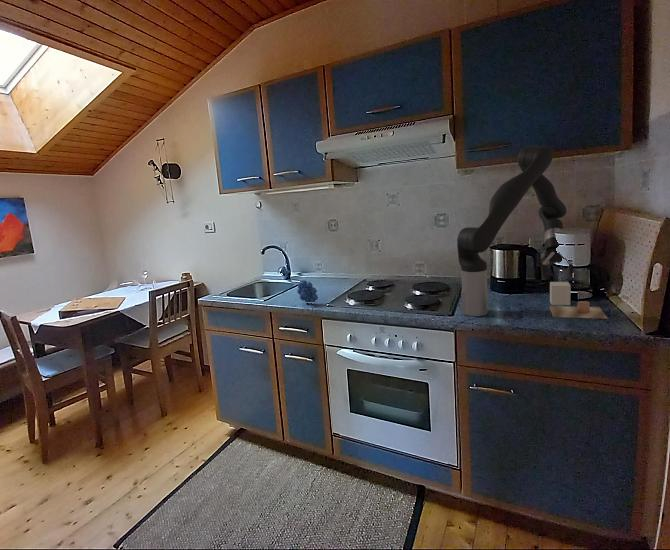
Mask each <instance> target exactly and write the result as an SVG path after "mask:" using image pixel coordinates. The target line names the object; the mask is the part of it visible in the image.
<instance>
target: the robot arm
mask: <svg viewBox="0 0 670 550" xmlns="http://www.w3.org/2000/svg"><path fill="white" fill-rule="evenodd" d="M553 159H554V151H553V148H552V147H550V146H546V145H525V146H523V147H522V148H521V149H520V150H519V152H518V155H517V164H518V167H519V168H520V170H521V172H520V173H519V174H517V175H515V176H513V177H511V178H510V179H508V180H507V181H505V182H503V183H502V184H501V185H500V186H499V187H498V189H497V190H496V191H495V193H494V194H493V195H492V196H491V199H490V201H489V210H488V211H489V212H488V215H487V217H486V218H485V220H484V221H483V222H482V223H481V225H480V226H479V227H474V226H473V227H472V226H471V227H464V228H462V229H460V231H459V233H458V235H457V239H456V244H457V247H456V249H457V256H458V263H459V265H460V270H461V271H460V272H461V273H460V274H461V275H460V276H461V293H460V296H461V314H462V315H463V316H469V317H483V316H486V315H488V314H489V311H488V310H489V307H488V300H489V299H488V297H489V296H488V264H487V262H486V261H485V260H484V259H482V258H481V256H480V255H479V254H480V253H481V254H482V253H484V252H486V251H487V250H488V249H489V248H490V246H491V245H492V244H493V241H494V240H495V239H496V237H497V234H498V233H499V232H500V230H501V228H502V226H503V225H504V224H505V222H506V220H507V219H508V218H509V216H511V213H513V211H514V210H515V209H516V208H517V207H518V205H519V203H520V202H521V201H522V199H523V197H524V196H525V195H526V194H527V192H528V191H529V190H530V188H533V190H534V193H535V195H536V198H537V201H538V203H539V205H541V206H540V207H539V209H538V216H539V218H540V220H541V222H542V225H543V227H544V228H543V229H544V230H543V231H544V238H543V239H544V240H543V241H544V249H545V252H541V251H537V253H536V267H538V268H539V267H540V268H541V271H542V272H541V273H542V274H543V275H544V276H547V274H548V272H547V266H548V265H550V263H552V264H555V263H558V264H560V262H561V261H562V258H563V259H565V260H566V261H567V259H566V258H564V257H563V256H562V255H561V254H560V252H559V253H557V251H556V248H557V247H558V246H559V244H558V242H557V240H556V238H555V235H554V233H555V231H557V230H560V229H563V230H564V225H563V224H564V223H563V221H562V220H561V219H562V218H564V217H565V216H566V215H567V207H566V205H565V203H564V202H563V201H562V200H561V199H560V198H559V197H558V194H557V192H556V189H555V186H554V184H553V183H552V182H551V181H550V179H548V178H547V177H546V176H545V175H544V172H545V171H546V170H547V169H548V168H549V167H550V165H551V163H552V161H553ZM543 257H544V258H545V259H544V261H542V260H541V259H543ZM541 261H542V262H541ZM572 262H573V261H571V262H568V261H567V263H568V264H569V266H567V269H568V276H572V275H573V273H574V268H573V267H574V266H573V265H572V264H573V263H572ZM561 263H562V262H561Z"/></svg>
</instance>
